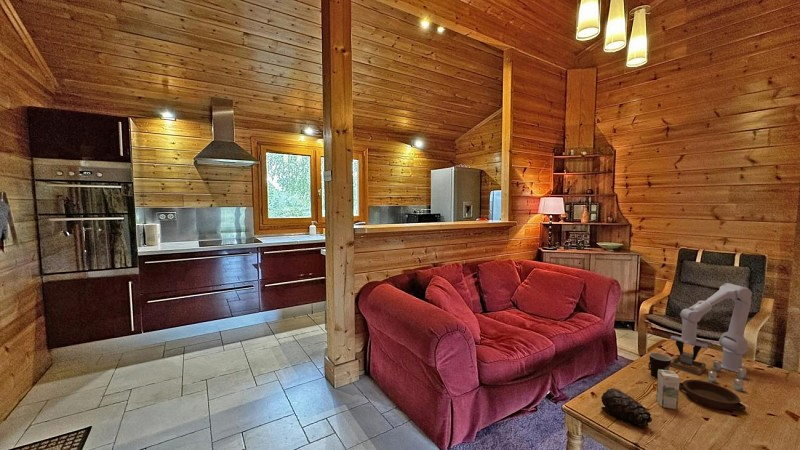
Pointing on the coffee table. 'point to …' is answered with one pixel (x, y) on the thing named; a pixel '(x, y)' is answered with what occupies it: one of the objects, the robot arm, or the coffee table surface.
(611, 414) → the pine cone
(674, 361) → the square frame
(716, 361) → the cylinder
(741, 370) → the cylinder
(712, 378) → the cylinder
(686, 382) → the dish
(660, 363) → the coffee mug
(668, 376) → the syrup box
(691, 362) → the grey cube
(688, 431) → the coffee table surface
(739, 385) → the cylinder
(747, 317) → the robot arm
